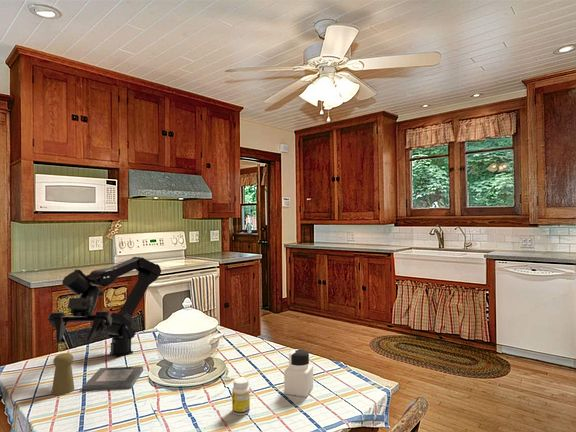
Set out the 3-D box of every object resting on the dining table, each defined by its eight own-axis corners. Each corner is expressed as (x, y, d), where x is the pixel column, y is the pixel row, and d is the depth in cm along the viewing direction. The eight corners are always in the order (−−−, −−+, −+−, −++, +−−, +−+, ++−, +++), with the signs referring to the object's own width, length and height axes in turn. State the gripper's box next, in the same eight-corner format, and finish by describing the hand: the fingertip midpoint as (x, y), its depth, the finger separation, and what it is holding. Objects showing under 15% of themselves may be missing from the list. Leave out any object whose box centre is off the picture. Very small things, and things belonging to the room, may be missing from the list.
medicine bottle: (313, 387, 117) (313, 348, 117) (306, 397, 110) (306, 356, 110) (291, 384, 119) (291, 346, 119) (283, 394, 112) (284, 353, 113)
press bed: (100, 372, 128) (100, 367, 128) (143, 370, 130) (143, 365, 130) (83, 390, 114) (83, 385, 114) (131, 388, 116) (131, 382, 116)
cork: (78, 387, 117) (79, 351, 117) (65, 395, 111) (66, 358, 111) (60, 386, 117) (61, 350, 118) (46, 394, 111) (47, 357, 112)
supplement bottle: (232, 407, 104) (232, 376, 104) (249, 406, 105) (250, 376, 105) (231, 416, 99) (231, 384, 100) (249, 415, 100) (249, 383, 100)
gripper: (51, 288, 125) (32, 330, 114) (109, 287, 128) (97, 328, 117) (61, 306, 133) (45, 348, 122) (117, 305, 135) (105, 346, 124)
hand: (72, 342), depth 121 cm, fingers open, 9 cm apart
